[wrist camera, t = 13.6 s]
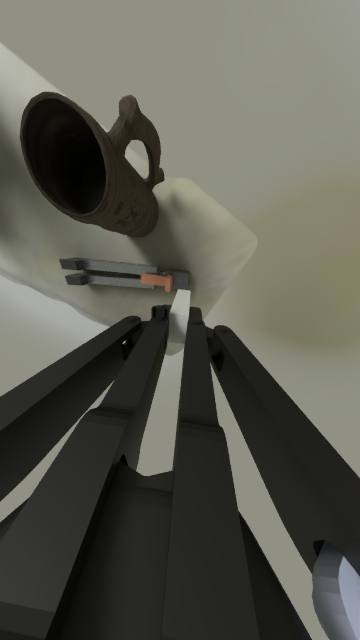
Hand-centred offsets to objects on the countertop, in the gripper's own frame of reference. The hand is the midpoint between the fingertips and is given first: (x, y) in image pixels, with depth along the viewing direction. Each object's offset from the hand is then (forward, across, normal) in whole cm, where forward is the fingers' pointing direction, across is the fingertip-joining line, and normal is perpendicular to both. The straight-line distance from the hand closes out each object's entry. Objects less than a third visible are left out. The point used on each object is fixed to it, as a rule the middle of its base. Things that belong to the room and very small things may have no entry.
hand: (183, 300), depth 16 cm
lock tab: (+19, -8, -2) cm, 20 cm away
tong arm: (+23, -21, -4) cm, 31 cm away
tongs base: (+23, -16, -2) cm, 28 cm away
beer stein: (+24, -12, +14) cm, 30 cm away
